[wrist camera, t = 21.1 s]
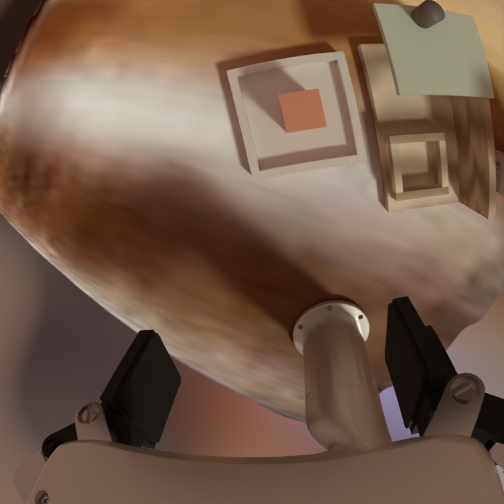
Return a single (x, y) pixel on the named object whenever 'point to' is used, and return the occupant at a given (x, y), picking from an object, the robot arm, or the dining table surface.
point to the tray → (271, 120)
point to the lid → (433, 51)
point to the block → (302, 110)
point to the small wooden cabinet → (430, 143)
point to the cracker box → (499, 172)
